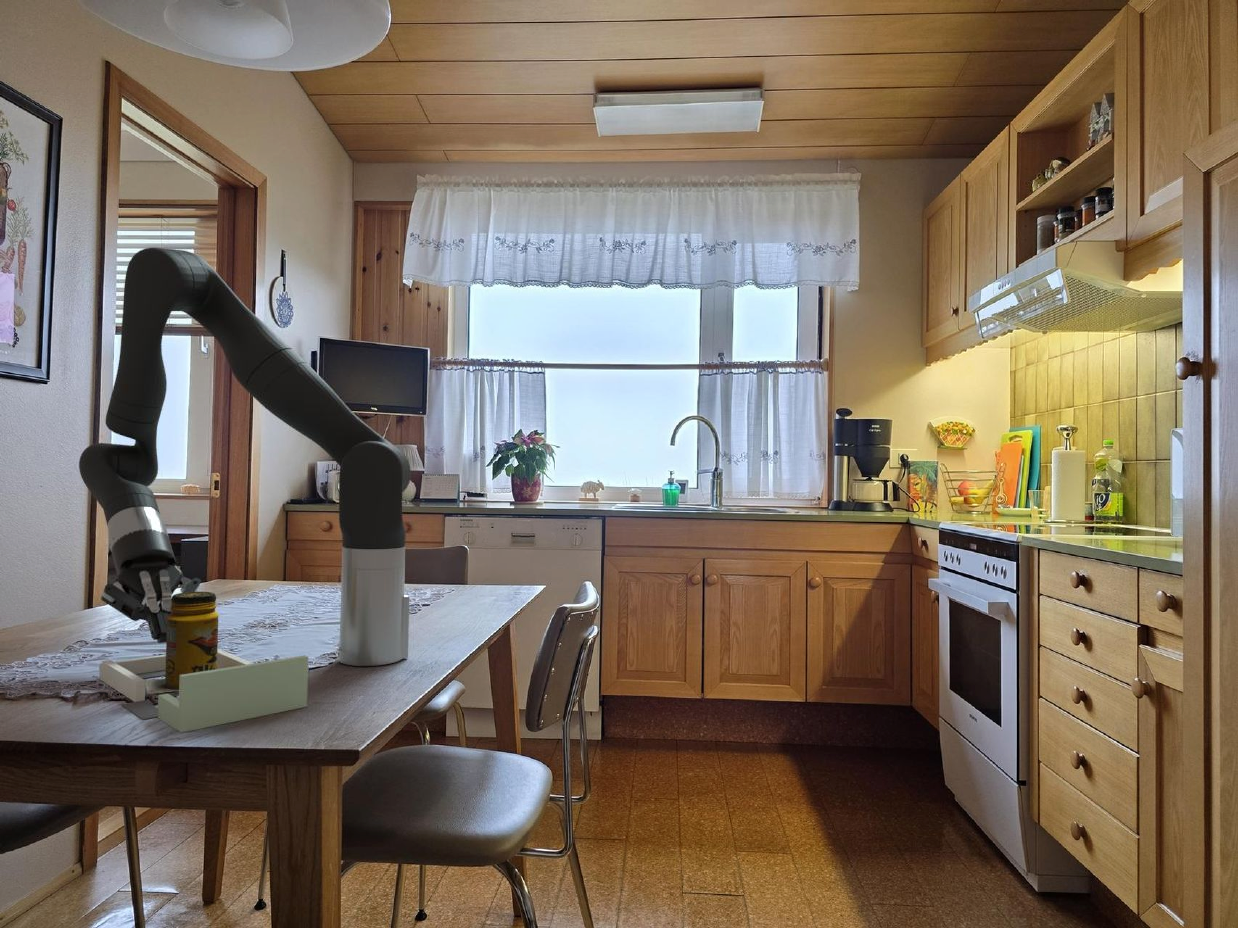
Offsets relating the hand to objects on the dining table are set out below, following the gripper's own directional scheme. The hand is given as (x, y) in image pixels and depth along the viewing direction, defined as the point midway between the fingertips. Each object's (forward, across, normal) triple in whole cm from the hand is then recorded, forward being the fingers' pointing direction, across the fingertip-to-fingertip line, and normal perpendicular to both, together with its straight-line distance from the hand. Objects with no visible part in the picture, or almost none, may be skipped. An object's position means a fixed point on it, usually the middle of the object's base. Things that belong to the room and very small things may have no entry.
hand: (166, 638), depth 108 cm
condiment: (+9, 0, -1) cm, 9 cm away
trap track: (+12, 0, -5) cm, 13 cm away
